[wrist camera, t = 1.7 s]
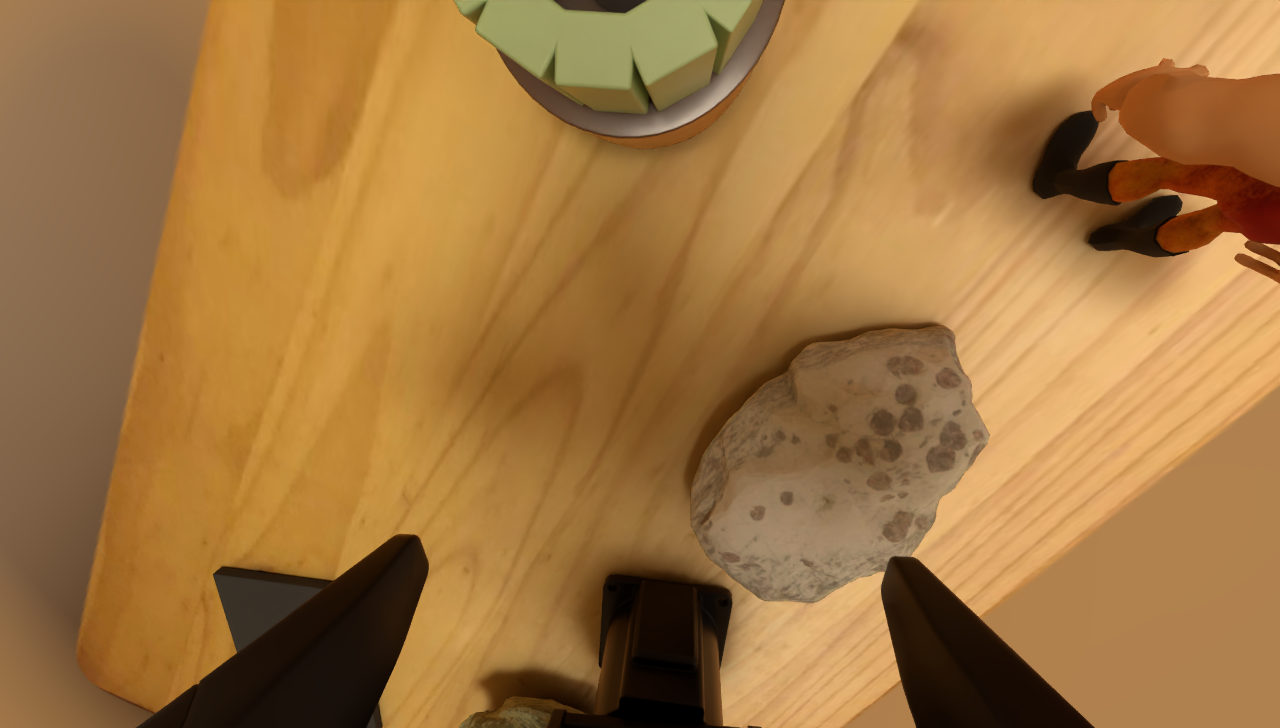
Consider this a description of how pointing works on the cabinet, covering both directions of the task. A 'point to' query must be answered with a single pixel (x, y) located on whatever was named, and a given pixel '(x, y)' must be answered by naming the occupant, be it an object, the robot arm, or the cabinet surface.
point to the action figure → (1180, 161)
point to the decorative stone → (837, 463)
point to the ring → (617, 46)
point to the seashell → (517, 714)
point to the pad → (264, 604)
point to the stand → (654, 125)
